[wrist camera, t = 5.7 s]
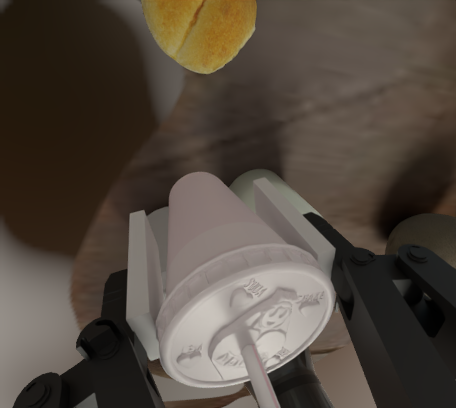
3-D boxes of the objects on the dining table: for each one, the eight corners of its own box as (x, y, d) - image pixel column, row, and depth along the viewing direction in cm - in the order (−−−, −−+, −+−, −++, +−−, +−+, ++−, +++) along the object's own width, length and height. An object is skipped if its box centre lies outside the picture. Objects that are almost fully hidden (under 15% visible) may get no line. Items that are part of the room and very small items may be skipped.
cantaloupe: (425, 179, 40) (551, 237, 28) (434, 228, 48) (536, 290, 36) (350, 234, 42) (439, 312, 30) (372, 273, 50) (448, 347, 38)
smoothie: (130, 225, 16) (119, 658, 5) (171, 132, 14) (329, 504, 3) (217, 246, 19) (339, 541, 8) (262, 172, 17) (519, 427, 6)
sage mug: (287, 222, 36) (325, 267, 29) (234, 242, 35) (260, 294, 28) (280, 159, 31) (325, 196, 23) (217, 181, 30) (244, 226, 22)
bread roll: (180, -100, 18) (190, -132, 15) (262, 11, 23) (284, 5, 19) (115, 8, 20) (111, 1, 16) (204, 89, 24) (215, 96, 21)
